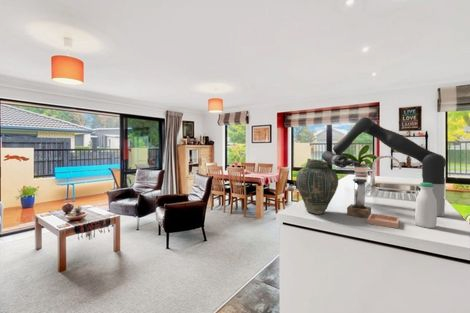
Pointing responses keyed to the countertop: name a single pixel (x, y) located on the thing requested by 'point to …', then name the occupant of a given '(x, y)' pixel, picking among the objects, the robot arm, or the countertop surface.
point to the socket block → (359, 211)
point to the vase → (316, 185)
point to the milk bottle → (426, 207)
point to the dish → (383, 220)
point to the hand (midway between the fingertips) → (352, 164)
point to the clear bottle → (359, 193)
